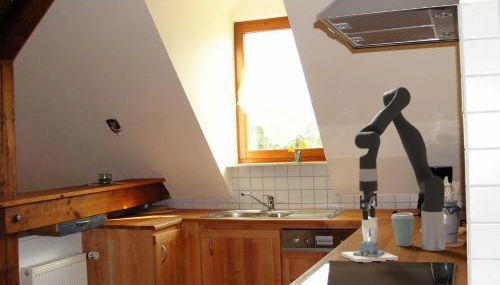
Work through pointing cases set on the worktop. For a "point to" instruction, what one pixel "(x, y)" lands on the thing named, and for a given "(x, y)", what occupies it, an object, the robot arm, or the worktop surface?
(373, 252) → the flange
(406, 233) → the disposable coffee cup
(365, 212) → the robot arm
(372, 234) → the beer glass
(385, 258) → the post base
